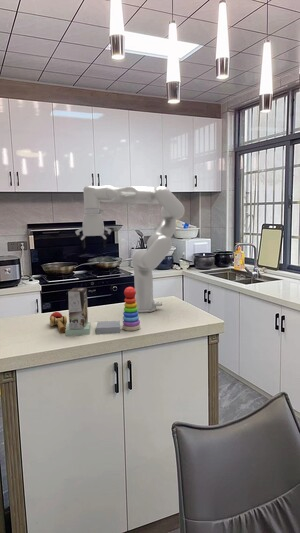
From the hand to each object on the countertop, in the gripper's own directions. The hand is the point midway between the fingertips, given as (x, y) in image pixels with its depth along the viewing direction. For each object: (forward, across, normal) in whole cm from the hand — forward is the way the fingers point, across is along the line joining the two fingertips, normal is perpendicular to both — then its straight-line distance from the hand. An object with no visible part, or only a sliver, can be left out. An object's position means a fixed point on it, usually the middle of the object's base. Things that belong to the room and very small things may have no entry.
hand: (94, 247), depth 183 cm
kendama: (+35, +16, +16) cm, 42 cm away
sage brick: (+35, +7, +24) cm, 43 cm away
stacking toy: (+34, -16, +24) cm, 45 cm away
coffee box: (+32, +7, +24) cm, 41 cm away
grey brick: (+35, -6, +24) cm, 43 cm away
